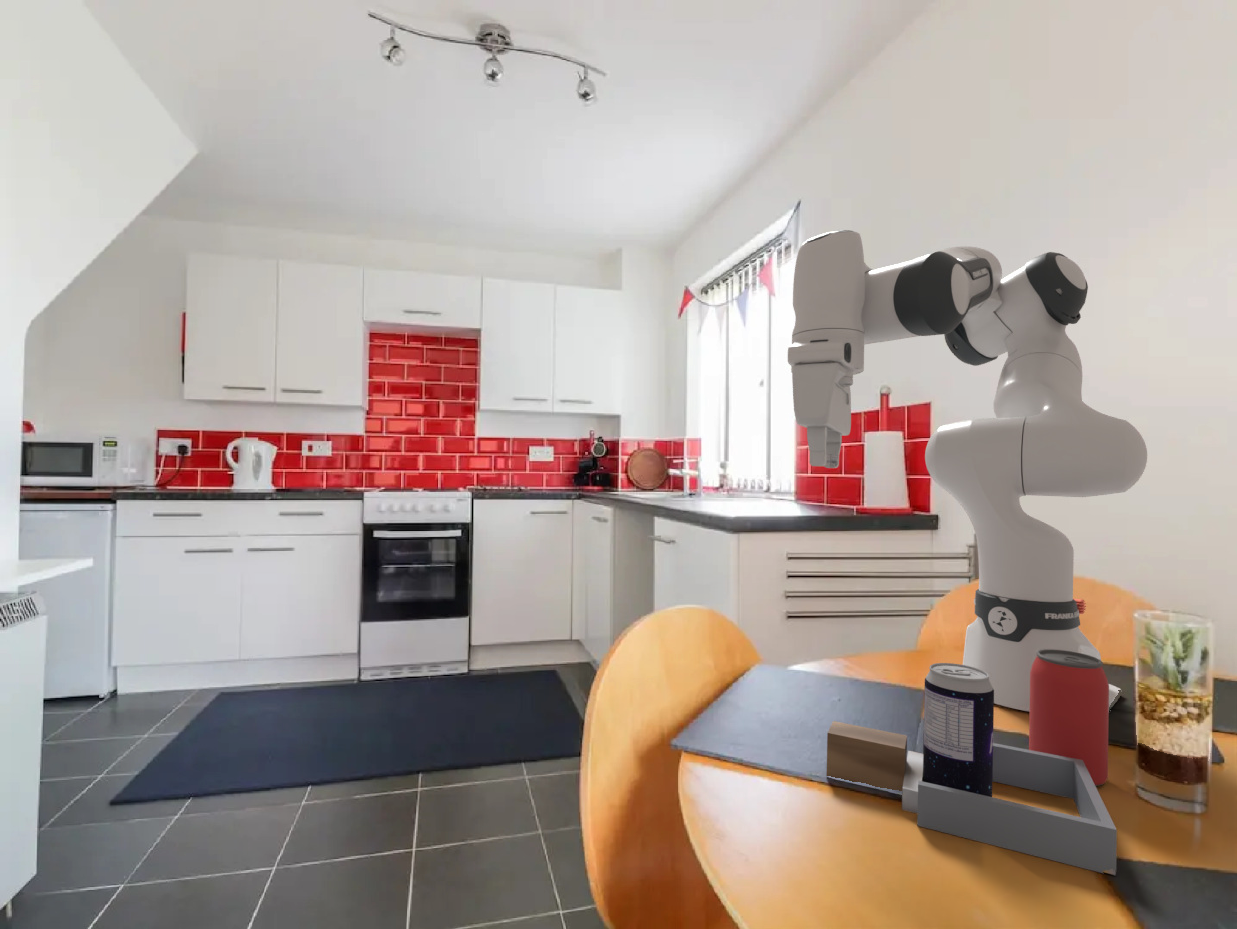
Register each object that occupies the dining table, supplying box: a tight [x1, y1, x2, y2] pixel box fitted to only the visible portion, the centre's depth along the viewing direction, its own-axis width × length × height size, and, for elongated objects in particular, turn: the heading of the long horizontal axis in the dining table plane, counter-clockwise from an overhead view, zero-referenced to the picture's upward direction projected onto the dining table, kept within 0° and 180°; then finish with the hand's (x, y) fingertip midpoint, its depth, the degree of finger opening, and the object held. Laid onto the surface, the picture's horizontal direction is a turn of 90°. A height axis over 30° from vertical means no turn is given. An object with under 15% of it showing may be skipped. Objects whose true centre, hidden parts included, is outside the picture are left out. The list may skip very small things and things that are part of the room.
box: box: [916, 730, 1118, 874], centre depth 57 cm, size 14×14×4 cm
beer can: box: [1028, 649, 1110, 787], centre depth 64 cm, size 7×7×12 cm
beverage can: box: [922, 662, 995, 797], centre depth 59 cm, size 6×6×12 cm
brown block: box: [825, 720, 923, 814], centre depth 62 cm, size 9×8×4 cm
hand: (824, 467), depth 80 cm, fingers open, 8 cm apart
